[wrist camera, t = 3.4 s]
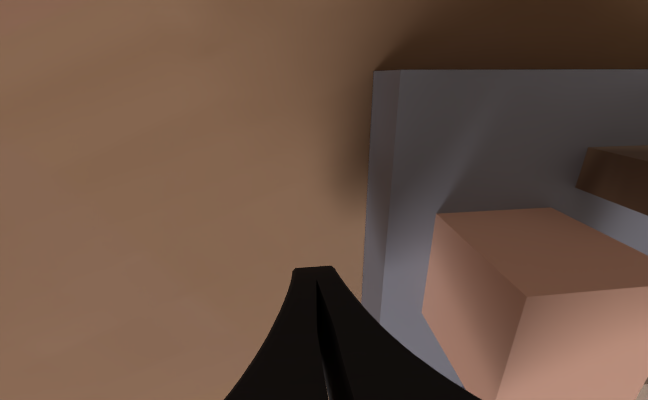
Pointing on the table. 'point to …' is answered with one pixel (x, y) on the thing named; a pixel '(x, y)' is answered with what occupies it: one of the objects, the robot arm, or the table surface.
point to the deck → (484, 168)
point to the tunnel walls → (617, 176)
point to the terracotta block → (537, 306)
